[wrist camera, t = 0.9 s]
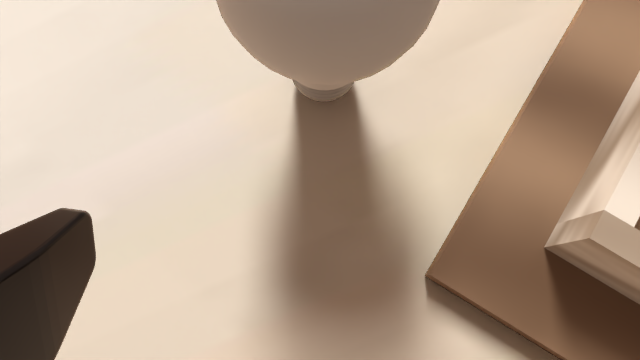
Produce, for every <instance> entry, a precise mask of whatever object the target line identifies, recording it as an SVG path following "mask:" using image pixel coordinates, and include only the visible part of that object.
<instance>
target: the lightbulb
mask: <svg viewBox="0 0 640 360" xmlns="http://www.w3.org/2000/svg"><path fill="white" fill-rule="evenodd" d="M216 1H217V4H218V7H219V10H220V13H221V16H222V18H223V19H224V21H225V23H226V25H227V26H228V28H229V30H230V31H231V33H232V35H233V36H234V37H235V38H236V39H237V40H238V41H239V42H240V44H241V45H242V46H243V47H244V48H245V49H246V50H247V51H248V52H249V53H250V54H251V55H252V56H253V57H254V58H255V59H257V60H258V61H259V62H261V63H262V64H263V65H265V66H266V67H268V68H269V69H270V70H272V71H274V72H277V73H279V74H281V75H283V76H285V77H287V78H289V79H293V82H294V84H295V86H296V88H297V89H298V90H299V91H300V92H301V93H302V94H303V95H304V96H306V97H307V98H310V99H312V100H315V101H322V102H326V101H332V100H335V99H338V98H340V97H342V96H343V95H344V94H346V93H347V92H348V91H349V89H350V88H351V87H352V85H353V83H354V81H358V80H361V79H364V78H367V77H370V76H372V75H374V74H376V73H378V72H380V71H381V70H383V69H385V68H387V67H389V66H390V65H391V64H393V63H394V62H395V61H396V60H397V59H398V58H400V57H401V56H402V55H403V54H404V53H406V52H407V51H408V50H409V49H410V48H411V47H413V46H414V44H415V43H416V42H417V40H418V39H419V38H420V37H421V35H422V34H423V33H424V31H425V30H426V29H427V27H428V25H429V23H430V21H431V18H432V16H433V14H434V12H435V10H436V8H437V6H438V3H439V1H440V0H216Z"/></svg>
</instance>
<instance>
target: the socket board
mask: <svg viewBox="0 0 640 360" xmlns="http://www.w3.org/2000/svg"><path fill="white" fill-rule="evenodd" d="M425 276H426V277H428V278H429V279H431V280H433V281H434V282H436V283H437V284H439V285H441V286H442V287H444V288H445V289H447V290H449V291H450V292H452V293H454V294H455V295H457V296H458V297H460V298H462V299H463V300H465V301H467V302H468V303H470V304H471V305H473V306H475V307H476V308H478V309H480V310H481V311H483V312H484V313H486V314H488V315H489V316H491V317H493V318H494V319H496V320H497V321H499V322H501V323H502V324H504V325H506V326H507V327H509V328H510V329H512V330H514V331H515V332H517V333H519V334H520V335H522V336H523V337H525V338H527V339H528V340H530V341H531V342H533V343H535V344H536V345H538V346H540V347H541V348H543V349H544V350H546V351H548V352H549V353H551V354H553V355H554V356H556V357H557V358H559V359H561V360H640V0H583V2H582V4H581V6H580V7H579V9H578V11H577V13H576V14H575V16H574V18H573V20H572V21H571V23H570V25H569V27H568V28H567V30H566V32H565V33H564V35H563V37H562V39H561V40H560V42H559V44H558V46H557V47H556V49H555V51H554V53H553V54H552V56H551V58H550V59H549V61H548V63H547V65H546V66H545V68H544V70H543V72H542V73H541V75H540V77H539V79H538V80H537V82H536V84H535V85H534V87H533V89H532V91H531V92H530V94H529V96H528V98H527V99H526V101H525V103H524V105H523V106H522V108H521V110H520V111H519V113H518V115H517V117H516V118H515V120H514V122H513V124H512V125H511V127H510V129H509V131H508V132H507V134H506V136H505V137H504V139H503V141H502V143H501V144H500V146H499V148H498V150H497V151H496V153H495V155H494V157H493V158H492V160H491V162H490V163H489V165H488V167H487V169H486V170H485V172H484V174H483V176H482V177H481V179H480V181H479V183H478V184H477V186H476V188H475V189H474V191H473V193H472V195H471V196H470V198H469V200H468V202H467V203H466V205H465V207H464V209H463V210H462V212H461V214H460V215H459V217H458V219H457V221H456V222H455V224H454V226H453V228H452V229H451V231H450V233H449V235H448V236H447V238H446V240H445V241H444V243H443V245H442V247H441V248H440V250H439V252H438V254H437V255H436V257H435V259H434V261H433V262H432V264H431V266H430V267H429V269H428V271H427V273H426V274H425Z"/></svg>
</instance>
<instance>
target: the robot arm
mask: <svg viewBox="0 0 640 360" xmlns="http://www.w3.org/2000/svg"><path fill="white" fill-rule="evenodd" d="M95 261H96V252H95V243H94V234H93V225H92V219H91V216H90V214H89V213H88V212H86V211H82V210H75V209H68V208H60V209H57V210H55V211H53V212H50V213H48V214H46V215H43V216H41V217H39V218H37V219H34V220H32V221H30V222H27V223H25V224H23V225H20V226H18V227H16V228H14V229H11V230H9V231H7V232H4V233H2V234H0V360H54V359H55V357H56V355H57V353H58V351H59V349H60V347H61V345H62V342H63V340H64V338H65V335H66V333H67V331H68V328H69V326H70V324H71V321H72V319H73V317H74V314H75V312H76V310H77V307H78V305H79V303H80V300H81V298H82V296H83V293H84V291H85V289H86V286H87V284H88V282H89V279H90V277H91V275H92V272H93V270H94V266H95Z"/></svg>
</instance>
